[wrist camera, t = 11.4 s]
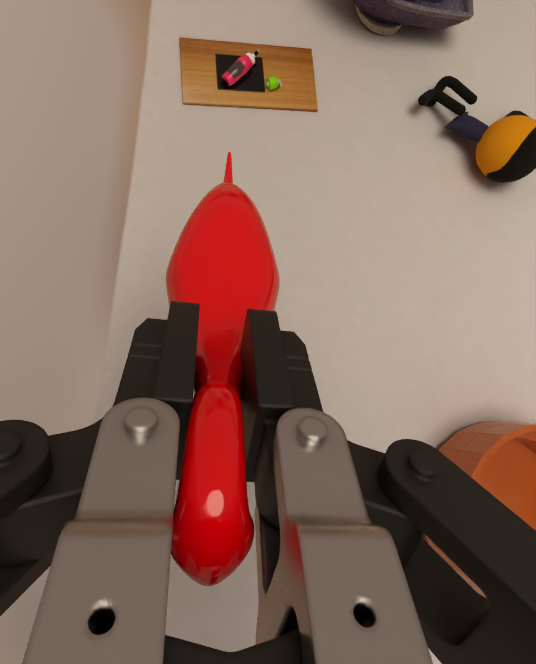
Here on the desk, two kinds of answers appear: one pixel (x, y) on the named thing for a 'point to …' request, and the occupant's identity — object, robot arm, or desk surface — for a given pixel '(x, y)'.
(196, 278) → the dinosaur
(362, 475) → the robot arm
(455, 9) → the toy boat
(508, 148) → the character figurine
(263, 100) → the board
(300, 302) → the desk surface
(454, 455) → the terracotta bowl
